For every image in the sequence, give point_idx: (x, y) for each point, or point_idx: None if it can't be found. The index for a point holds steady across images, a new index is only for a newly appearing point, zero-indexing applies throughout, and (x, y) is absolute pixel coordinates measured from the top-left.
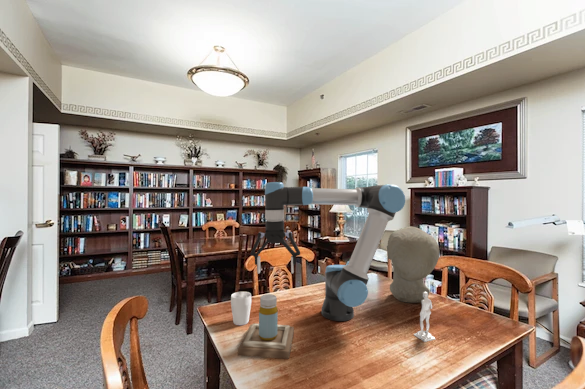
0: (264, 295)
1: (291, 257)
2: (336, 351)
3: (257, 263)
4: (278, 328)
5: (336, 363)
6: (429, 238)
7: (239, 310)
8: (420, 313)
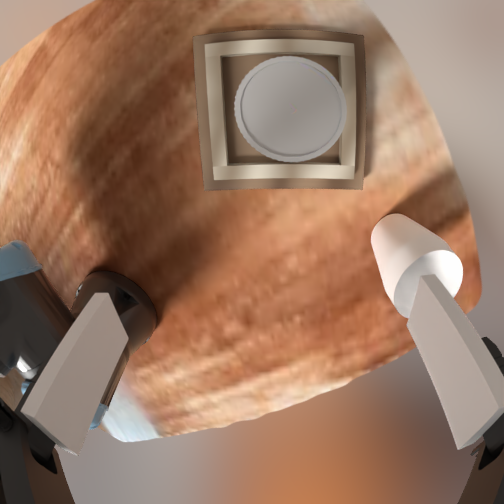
0: (326, 143)
1: (31, 414)
2: (83, 114)
3: (482, 343)
4: (254, 163)
5: (83, 65)
6: None
7: (416, 228)
8: None
